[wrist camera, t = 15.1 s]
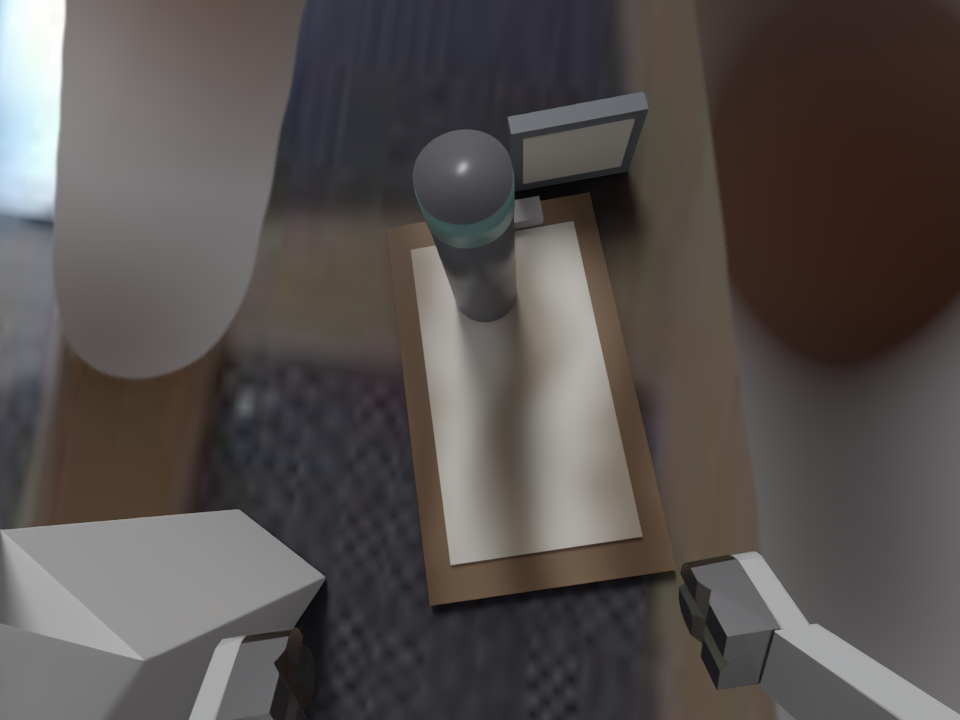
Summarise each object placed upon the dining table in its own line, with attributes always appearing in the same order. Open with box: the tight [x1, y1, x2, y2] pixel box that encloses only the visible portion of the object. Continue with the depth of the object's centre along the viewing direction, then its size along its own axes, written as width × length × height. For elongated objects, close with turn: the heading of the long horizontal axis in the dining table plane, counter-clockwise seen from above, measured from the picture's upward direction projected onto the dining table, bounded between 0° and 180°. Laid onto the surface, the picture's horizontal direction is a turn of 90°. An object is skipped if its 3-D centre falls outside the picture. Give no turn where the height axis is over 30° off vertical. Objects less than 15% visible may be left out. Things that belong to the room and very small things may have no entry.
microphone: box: [413, 130, 517, 322], centre depth 26 cm, size 4×4×13 cm
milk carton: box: [0, 510, 325, 720], centre depth 21 cm, size 7×7×19 cm
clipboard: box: [387, 192, 677, 606], centre depth 31 cm, size 14×24×2 cm, turn 8°
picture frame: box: [508, 92, 648, 192], centre depth 32 cm, size 8×1×6 cm, turn 98°
